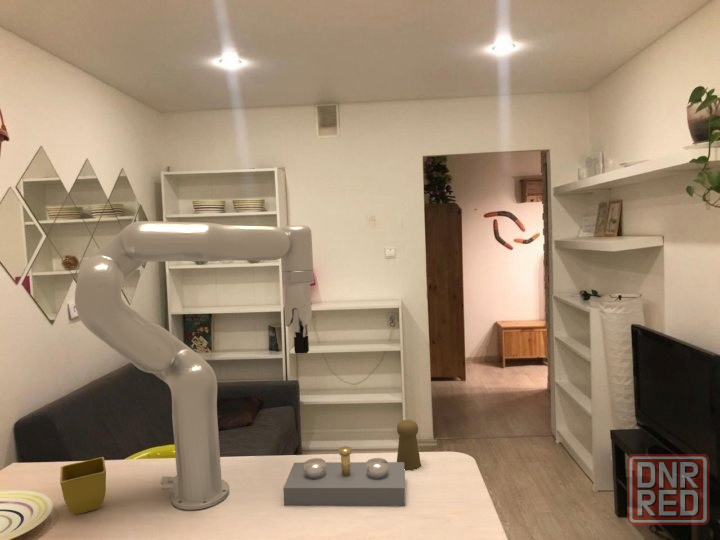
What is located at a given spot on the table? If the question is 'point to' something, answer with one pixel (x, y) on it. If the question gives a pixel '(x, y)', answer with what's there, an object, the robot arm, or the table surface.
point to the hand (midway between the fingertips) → (301, 352)
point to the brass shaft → (345, 460)
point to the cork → (408, 445)
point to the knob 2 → (377, 468)
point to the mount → (345, 487)
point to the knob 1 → (314, 468)
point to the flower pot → (84, 485)
